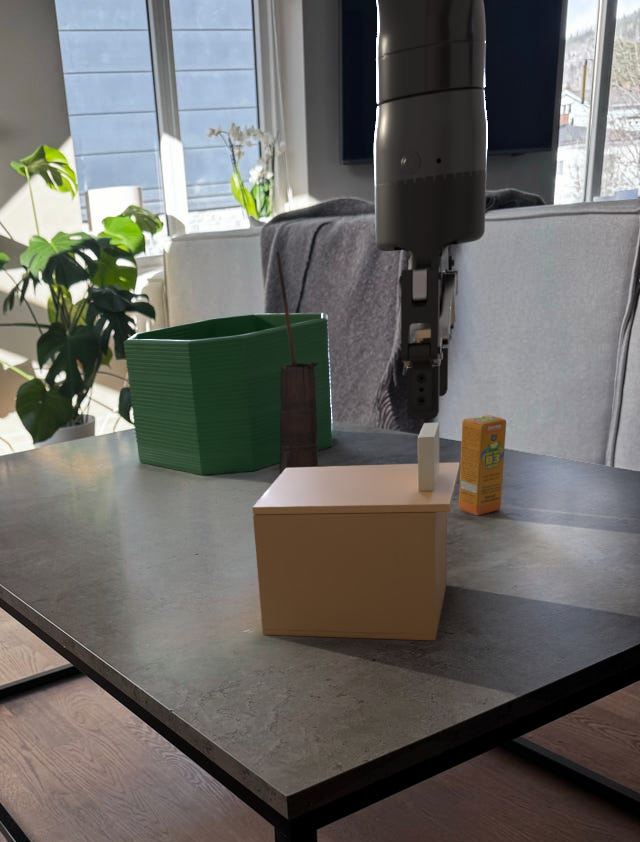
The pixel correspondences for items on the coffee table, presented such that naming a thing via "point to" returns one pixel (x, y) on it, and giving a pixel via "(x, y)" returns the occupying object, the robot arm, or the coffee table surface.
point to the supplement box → (482, 464)
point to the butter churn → (297, 405)
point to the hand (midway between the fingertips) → (428, 406)
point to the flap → (367, 485)
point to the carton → (352, 574)
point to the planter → (222, 390)
